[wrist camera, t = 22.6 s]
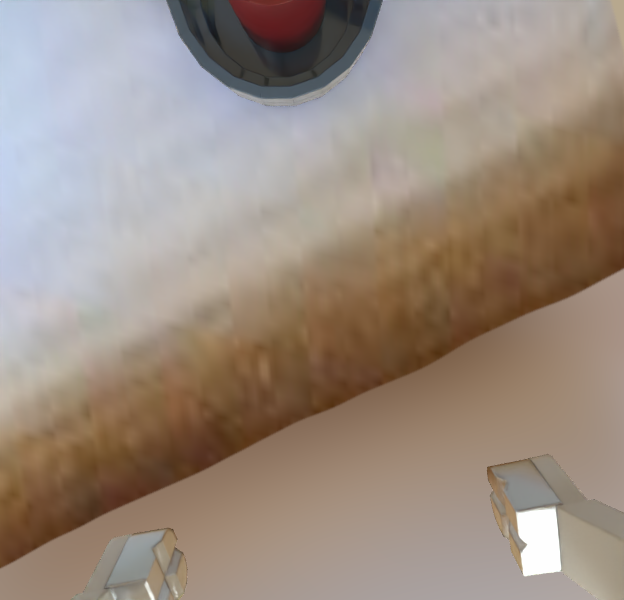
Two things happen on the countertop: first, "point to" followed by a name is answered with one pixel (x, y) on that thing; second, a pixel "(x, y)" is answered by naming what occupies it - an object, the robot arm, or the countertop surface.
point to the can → (280, 22)
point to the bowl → (272, 65)
